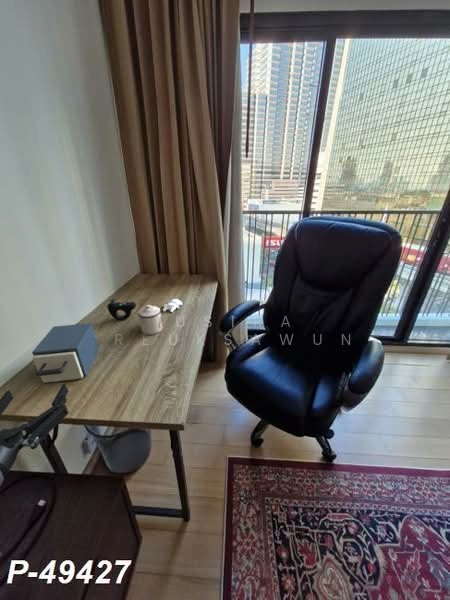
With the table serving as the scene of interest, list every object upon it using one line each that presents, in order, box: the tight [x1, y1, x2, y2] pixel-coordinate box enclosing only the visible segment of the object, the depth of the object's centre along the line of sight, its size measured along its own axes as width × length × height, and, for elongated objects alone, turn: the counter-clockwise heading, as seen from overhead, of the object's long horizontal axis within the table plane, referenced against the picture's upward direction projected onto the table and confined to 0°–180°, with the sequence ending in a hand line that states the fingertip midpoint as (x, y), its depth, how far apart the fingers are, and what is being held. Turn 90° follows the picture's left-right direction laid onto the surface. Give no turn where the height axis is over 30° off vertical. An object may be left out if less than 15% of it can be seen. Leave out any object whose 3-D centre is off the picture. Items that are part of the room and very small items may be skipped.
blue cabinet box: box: [31, 322, 100, 378], centre depth 86 cm, size 15×13×12 cm
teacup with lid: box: [137, 304, 163, 336], centre depth 107 cm, size 12×9×12 cm
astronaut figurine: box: [162, 298, 183, 313], centre depth 126 cm, size 9×12×3 cm
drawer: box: [32, 350, 84, 384], centre depth 82 cm, size 19×12×10 cm, turn 9°
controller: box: [106, 298, 137, 321], centre depth 114 cm, size 4×12×10 cm, turn 96°
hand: (38, 391), depth 67 cm, fingers open, 13 cm apart
